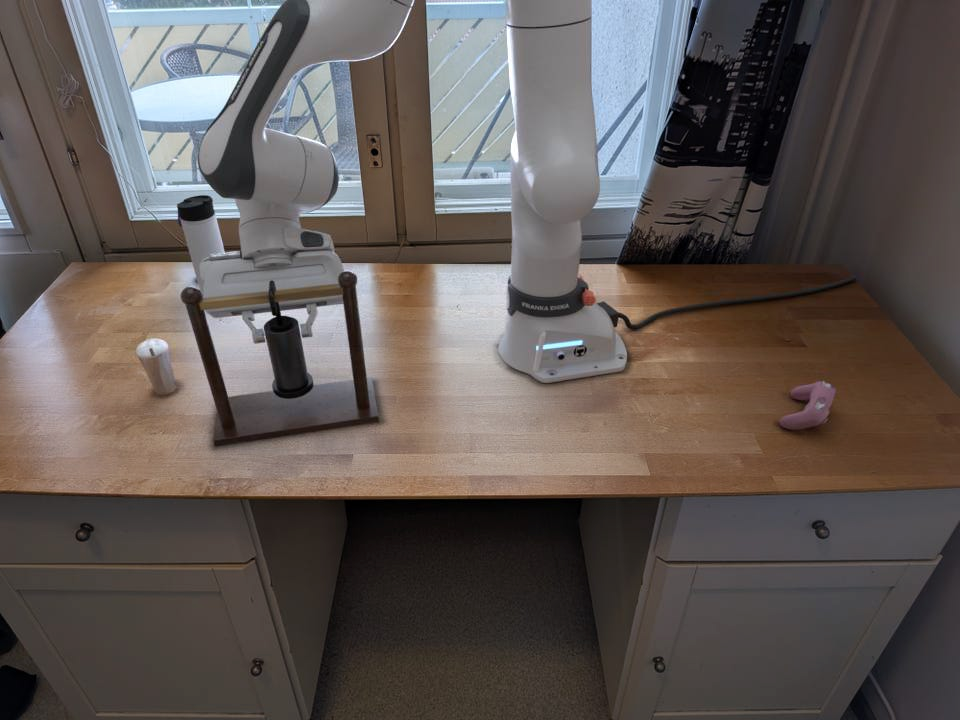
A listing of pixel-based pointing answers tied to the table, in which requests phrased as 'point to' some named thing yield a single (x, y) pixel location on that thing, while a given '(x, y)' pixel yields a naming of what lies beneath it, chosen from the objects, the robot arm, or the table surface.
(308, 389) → the dark cylindrical piece
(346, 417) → the rack
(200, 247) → the travel mug
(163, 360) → the milkshake
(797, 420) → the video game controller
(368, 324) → the table surface
